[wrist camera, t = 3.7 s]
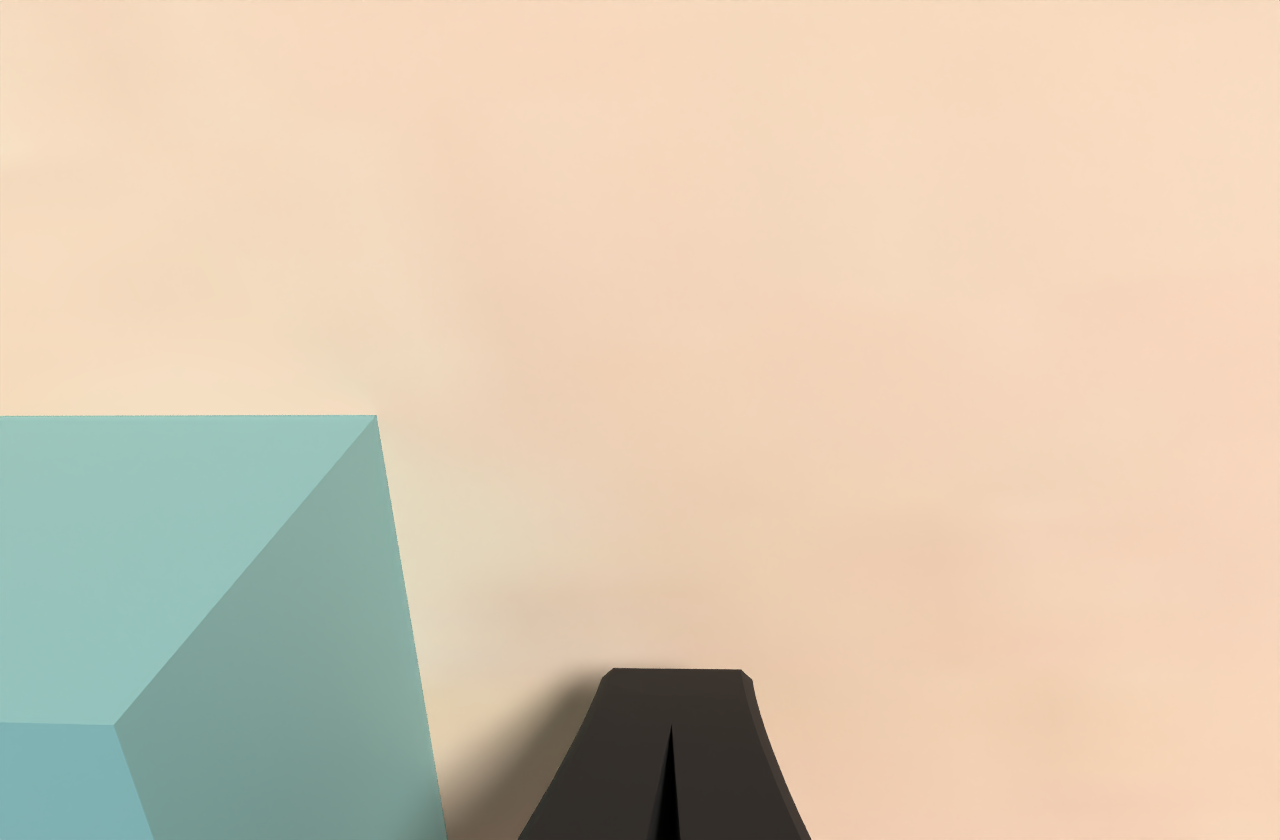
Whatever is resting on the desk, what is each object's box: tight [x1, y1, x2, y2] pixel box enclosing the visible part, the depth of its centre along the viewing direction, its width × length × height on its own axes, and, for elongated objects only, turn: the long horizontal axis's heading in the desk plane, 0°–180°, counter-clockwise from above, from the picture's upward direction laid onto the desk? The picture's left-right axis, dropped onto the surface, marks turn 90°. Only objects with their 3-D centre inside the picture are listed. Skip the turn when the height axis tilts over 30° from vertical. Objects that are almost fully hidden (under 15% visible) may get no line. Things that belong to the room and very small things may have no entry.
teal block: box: [0, 415, 448, 840], centre depth 8 cm, size 6×5×4 cm
